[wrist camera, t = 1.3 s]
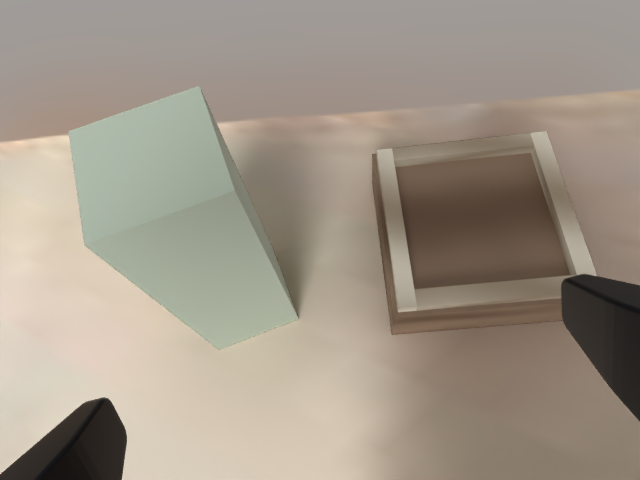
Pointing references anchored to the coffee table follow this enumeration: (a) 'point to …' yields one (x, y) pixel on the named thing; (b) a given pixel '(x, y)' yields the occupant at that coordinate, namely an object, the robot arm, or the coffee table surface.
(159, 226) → the sage pillar
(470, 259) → the square shallow tray
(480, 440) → the coffee table surface
